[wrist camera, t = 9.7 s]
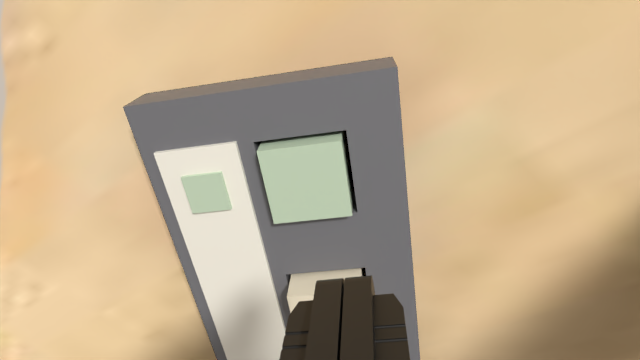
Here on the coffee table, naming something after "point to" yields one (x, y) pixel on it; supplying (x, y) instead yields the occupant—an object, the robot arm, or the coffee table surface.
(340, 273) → the button sand
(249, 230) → the button board
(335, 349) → the robot arm
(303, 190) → the button sage
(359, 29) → the coffee table surface
